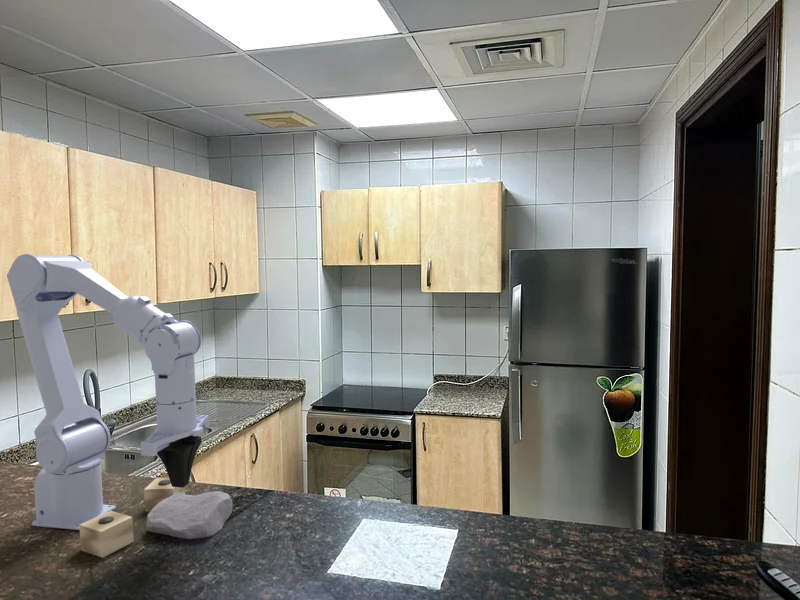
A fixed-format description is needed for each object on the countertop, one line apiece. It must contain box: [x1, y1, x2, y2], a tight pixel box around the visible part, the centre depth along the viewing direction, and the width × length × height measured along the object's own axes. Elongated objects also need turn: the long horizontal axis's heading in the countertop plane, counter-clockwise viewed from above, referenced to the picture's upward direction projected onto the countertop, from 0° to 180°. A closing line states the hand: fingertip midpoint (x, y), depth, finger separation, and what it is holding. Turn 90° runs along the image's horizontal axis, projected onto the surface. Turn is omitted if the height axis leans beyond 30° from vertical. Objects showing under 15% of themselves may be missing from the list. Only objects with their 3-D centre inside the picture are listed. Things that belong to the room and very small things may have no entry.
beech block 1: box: [79, 510, 134, 559], centre depth 80 cm, size 5×5×4 cm
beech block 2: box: [143, 477, 186, 513], centre depth 94 cm, size 5×5×4 cm
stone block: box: [145, 490, 233, 540], centre depth 86 cm, size 12×5×10 cm
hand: (180, 485), depth 84 cm, fingers closed
